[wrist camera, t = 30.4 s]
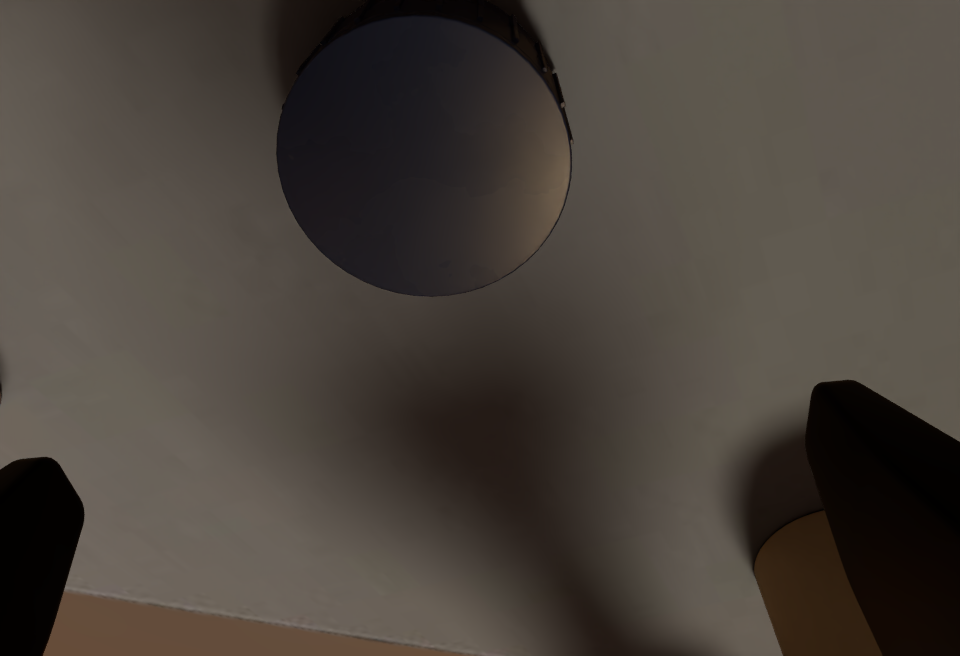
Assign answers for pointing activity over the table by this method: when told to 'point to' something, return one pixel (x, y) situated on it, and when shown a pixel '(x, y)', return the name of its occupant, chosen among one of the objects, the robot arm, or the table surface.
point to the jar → (811, 593)
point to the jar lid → (426, 146)
